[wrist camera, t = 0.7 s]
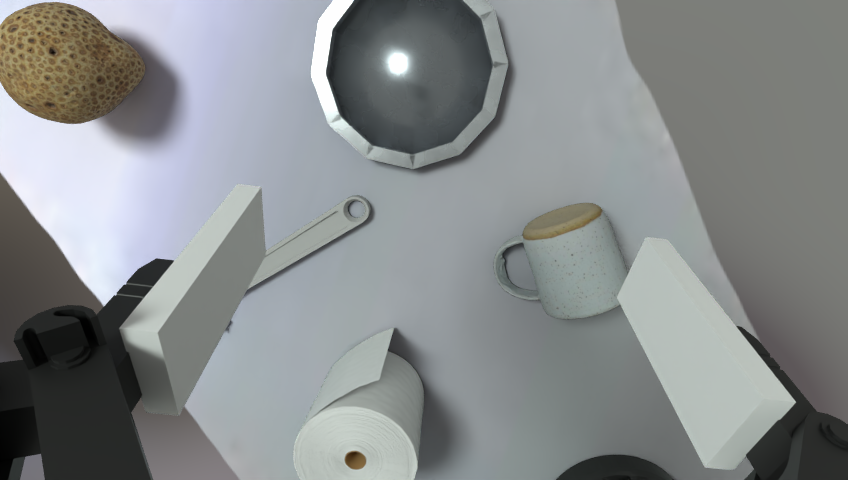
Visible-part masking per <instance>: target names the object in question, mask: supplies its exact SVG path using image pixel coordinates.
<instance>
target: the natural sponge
mask: <svg viewBox="0 0 848 480" xmlns="http://www.w3.org/2000/svg"><path fill="white" fill-rule="evenodd" d="M144 74H145V64H144V62H143V60H142V58H141V56H140V55H139V54H138V52H137V51H136V50H135V49H134V48H133V47H132V46H130V45H129V44H128V43H127V42H125V41H124V40H122V39H121V38H119V37H117V36H116V35H114V34H113V33H111V32H110V31H109V30H108V29H107V28H106V27H105V26H104V25H103V24H102V23H101V22H100V21H99V20H98V19H97V18H96V17H94V16H93V15H92V14H91V13H89V12H87V11H85V10H83V9H81V8H79V7H76V6H73V5H70V4H65V3H59V2H50V3H39V4H35V5H31V6H27V7H26V8H23V9H20V10H18V11H16V12H14V13H13V14H11V15H10V16H8V17H7V18H6V19H5V20H4V21H3V22H2V24H1V25H0V82H1V84H2V86H3V87H4V89H5V90H6V92H7V93H8V95H9V96H10V97H11V98H12V99H13V100H14V101H15V102H16V103H17V104H18V105H19V106H21V107H22V108H24V109H25V110H26V111H28V112H30V113H32V114H34V115H36V116H38V117H41V118H44V119H47V120H51V121H56V122H60V123H67V124H79V123H84V122H88V121H91V120H94V119H97V118H99V117H101V116H104V115H105V114H107V113H109V112H110V111H112V110H113V109H114V108H116V107H117V106H118V105H119V104H120V103H121V102H122V101H123V100H124V98H125V97H126V96H127V95H128V94H129V93H131V92H132V91H133V89H134V88H135V87H136V86H137V85H138V84H139V83H140V81H141V80H142V78H143V76H144Z"/></svg>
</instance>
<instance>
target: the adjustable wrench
mask: <svg viewBox="0 0 848 480" xmlns="http://www.w3.org/2000/svg"><path fill="white" fill-rule="evenodd" d="M352 201H360V202H361V203H363V205H364V207H365V213H364V215H363V216H362V217H359V218H354V217H352V216H351V215H350V214H349V212H348V206H349V204H350V203H351V202H352ZM370 211H371V208H370V204H369V202H368V201H367V200H366V198H364V197H362V196H359V195H353V196H351V197H349V198H347V199H346V200H344V201H343V202H341V203H340V204H338V205H336V206H335V207H333V208H332V209H330V210H329V211H327V212H326V213H324V214H322V215H321V216H319V217H318V218H316V219H315V220H313V221H312V222H310V223H308V224H307V225H305V226H304V227H302V228H301V229H299V230H298V231H296V232H294V233H293V234H291V235H290V236H288V237H287V238H285V239H284V240H282V241H280V242H279V243H277V244H276V245H274V246H273V247H271V248H270V249H268V250H266V256H265V258H264V259H263V261H262V263H261V265H260V267H259V269H258V270H257V272H256V274H255V276H254V278H253V280H252V282H251V283H250V285H249V287H248V289H249V288H251V287H253V286H254V285H256V284H258V283H259V282H261V281H263V280H265V279H266V278H268V277H270V276H271V275H273V274H275V273H277V272H278V271H280V270H282V269H284V268H285V267H287V266H289V265H290V264H292V263H294V262H296V261H297V260H299V259H301V258H302V257H304V256H306V255H308V254H309V253H311V252H313V251H314V250H316V249H318V248H320V247H321V246H323V245H325V244H327V243H328V242H330V241H332V240H333V239H335V238H337V237H339V236H340V235H342V234H344V233H345V232H347V231H349V230H351V229H352V228H354V227H356V226H357V225H359V224H361V223H363V222H364V221H365V220H366V219H367V218H368V216H369V215H370Z"/></svg>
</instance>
